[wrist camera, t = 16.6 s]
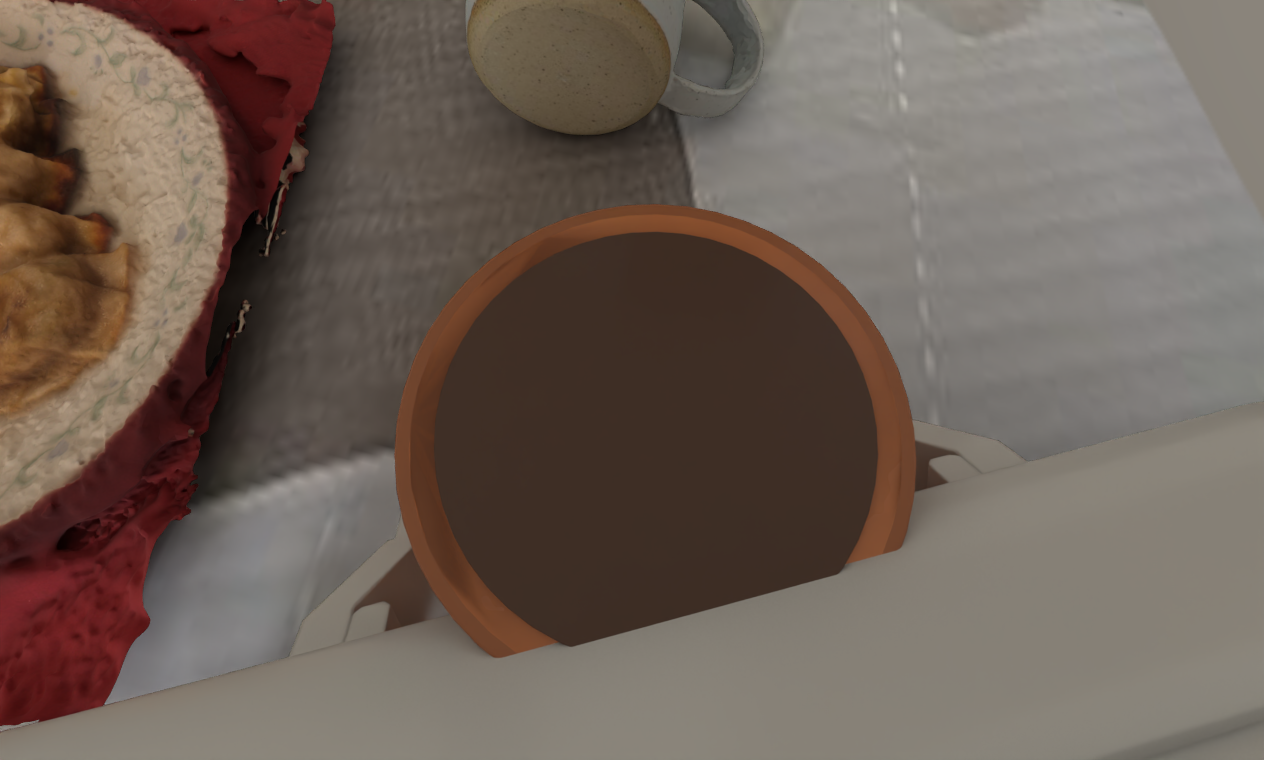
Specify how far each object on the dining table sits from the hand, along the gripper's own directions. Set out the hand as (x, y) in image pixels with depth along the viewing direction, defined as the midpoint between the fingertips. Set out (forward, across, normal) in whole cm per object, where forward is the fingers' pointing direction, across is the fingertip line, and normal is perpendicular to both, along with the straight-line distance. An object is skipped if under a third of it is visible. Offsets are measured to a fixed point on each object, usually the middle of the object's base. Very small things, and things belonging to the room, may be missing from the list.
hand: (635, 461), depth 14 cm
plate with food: (+14, +22, -5) cm, 27 cm away
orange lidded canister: (+4, 0, +5) cm, 7 cm away
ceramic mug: (+17, -4, -7) cm, 19 cm away
